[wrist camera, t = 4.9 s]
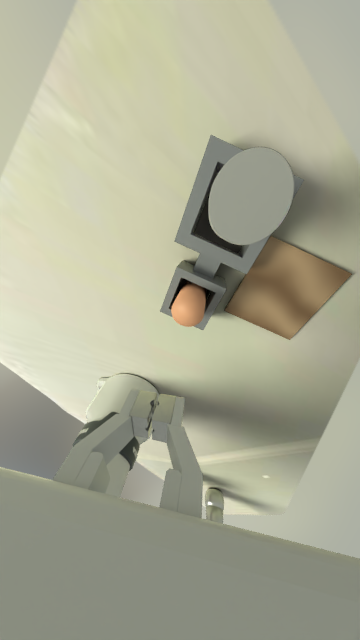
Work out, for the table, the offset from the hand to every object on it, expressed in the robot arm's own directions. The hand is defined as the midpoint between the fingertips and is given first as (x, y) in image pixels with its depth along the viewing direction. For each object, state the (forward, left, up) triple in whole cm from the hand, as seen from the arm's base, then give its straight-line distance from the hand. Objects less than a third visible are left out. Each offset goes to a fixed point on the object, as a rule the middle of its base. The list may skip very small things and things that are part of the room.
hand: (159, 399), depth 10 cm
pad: (+5, -12, -21) cm, 24 cm away
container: (+11, 0, -21) cm, 23 cm away
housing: (+6, 0, -21) cm, 21 cm away
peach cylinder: (0, 0, -20) cm, 20 cm away
